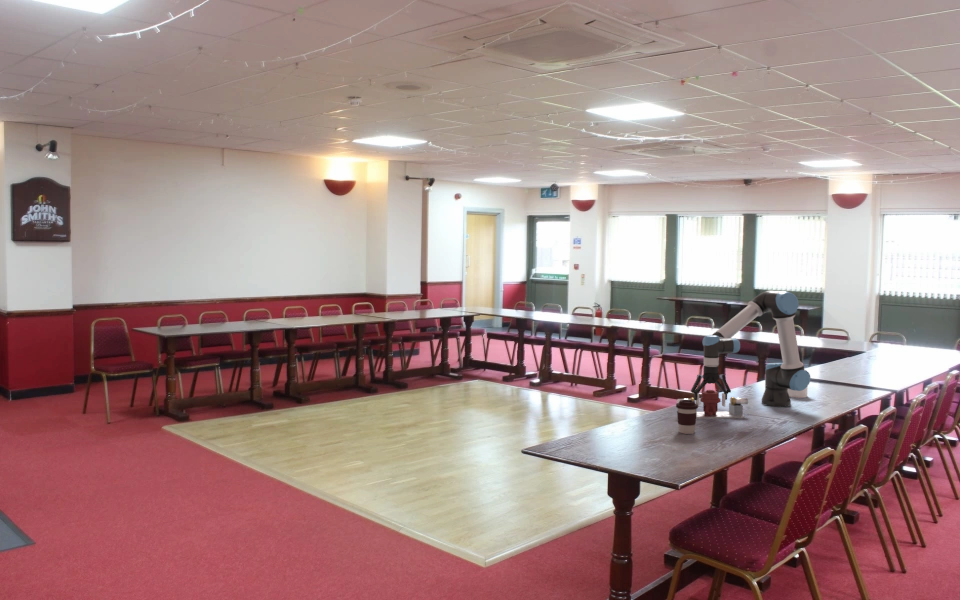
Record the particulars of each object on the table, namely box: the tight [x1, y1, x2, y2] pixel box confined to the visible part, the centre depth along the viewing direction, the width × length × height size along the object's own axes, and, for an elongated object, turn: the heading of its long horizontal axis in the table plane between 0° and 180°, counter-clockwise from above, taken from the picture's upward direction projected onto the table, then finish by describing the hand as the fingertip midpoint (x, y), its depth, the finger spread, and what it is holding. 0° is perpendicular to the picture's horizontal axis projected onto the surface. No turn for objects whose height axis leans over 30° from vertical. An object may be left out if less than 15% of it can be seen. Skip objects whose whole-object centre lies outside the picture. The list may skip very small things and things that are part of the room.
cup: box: [788, 387, 808, 399], centre depth 440 cm, size 12×12×12 cm
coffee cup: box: [675, 400, 699, 435], centre depth 355 cm, size 10×10×15 cm
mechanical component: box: [699, 389, 722, 415], centre depth 389 cm, size 12×10×10 cm
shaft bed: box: [676, 396, 749, 420], centre depth 389 cm, size 36×12×10 cm, turn 92°
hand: (710, 406), depth 389 cm, fingers open, 13 cm apart
